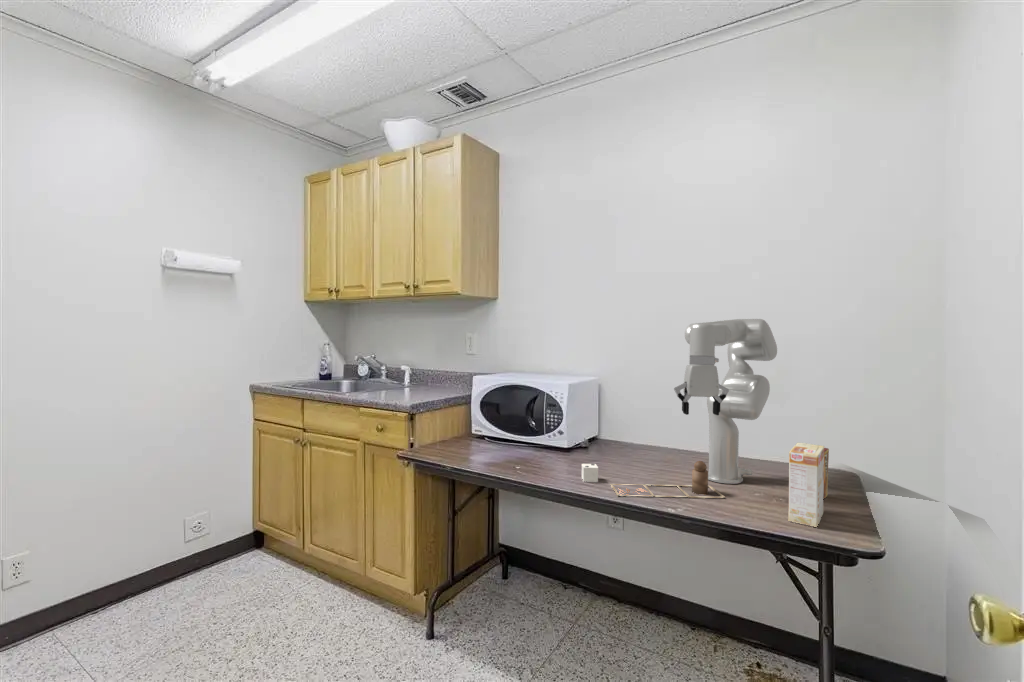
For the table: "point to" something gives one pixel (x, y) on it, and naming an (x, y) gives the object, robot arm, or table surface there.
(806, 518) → the coffeecake box
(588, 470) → the die
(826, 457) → the candy box
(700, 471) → the pawn
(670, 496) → the board
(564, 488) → the table surface
